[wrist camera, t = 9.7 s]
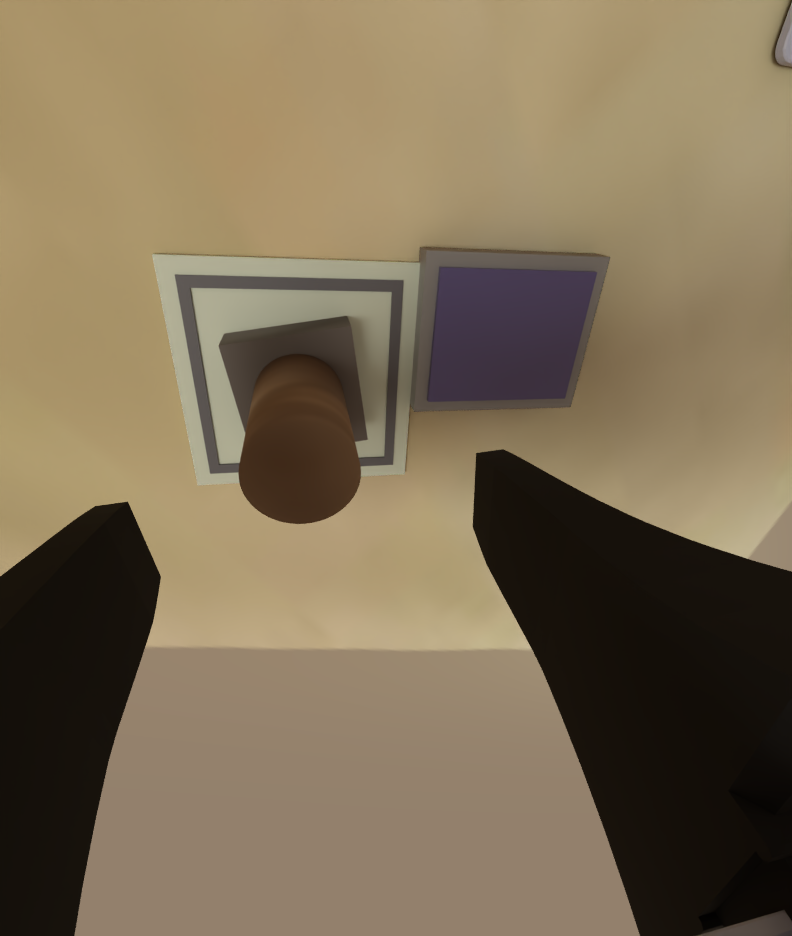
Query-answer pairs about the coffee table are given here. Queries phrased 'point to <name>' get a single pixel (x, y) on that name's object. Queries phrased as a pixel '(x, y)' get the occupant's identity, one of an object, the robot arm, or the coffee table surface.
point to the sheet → (279, 303)
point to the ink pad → (502, 327)
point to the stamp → (297, 417)
